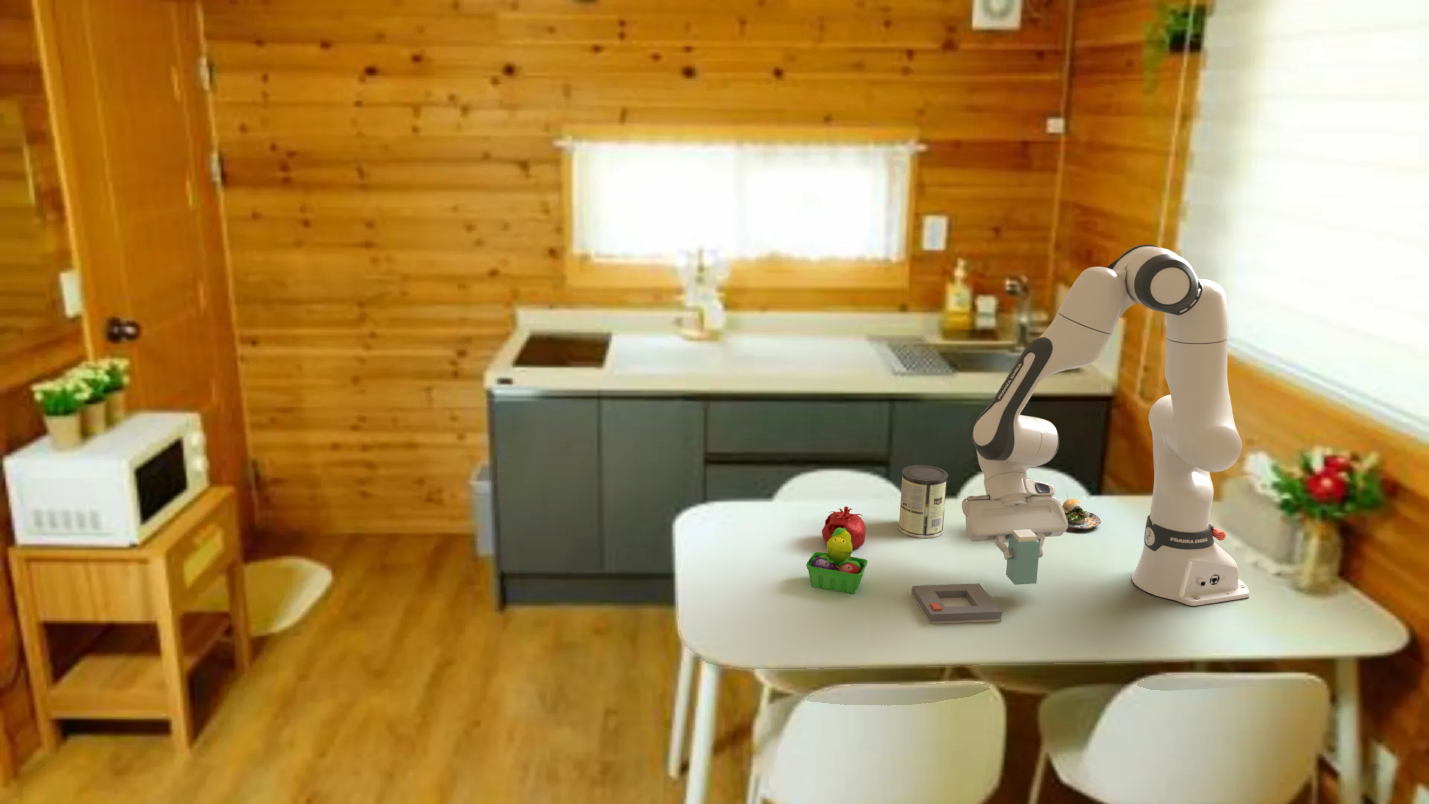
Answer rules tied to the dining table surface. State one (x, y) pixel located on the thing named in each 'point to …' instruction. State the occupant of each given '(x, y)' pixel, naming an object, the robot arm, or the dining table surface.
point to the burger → (1078, 516)
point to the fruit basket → (836, 565)
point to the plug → (1023, 557)
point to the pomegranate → (845, 526)
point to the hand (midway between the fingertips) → (1024, 558)
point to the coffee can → (922, 501)
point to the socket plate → (956, 603)
